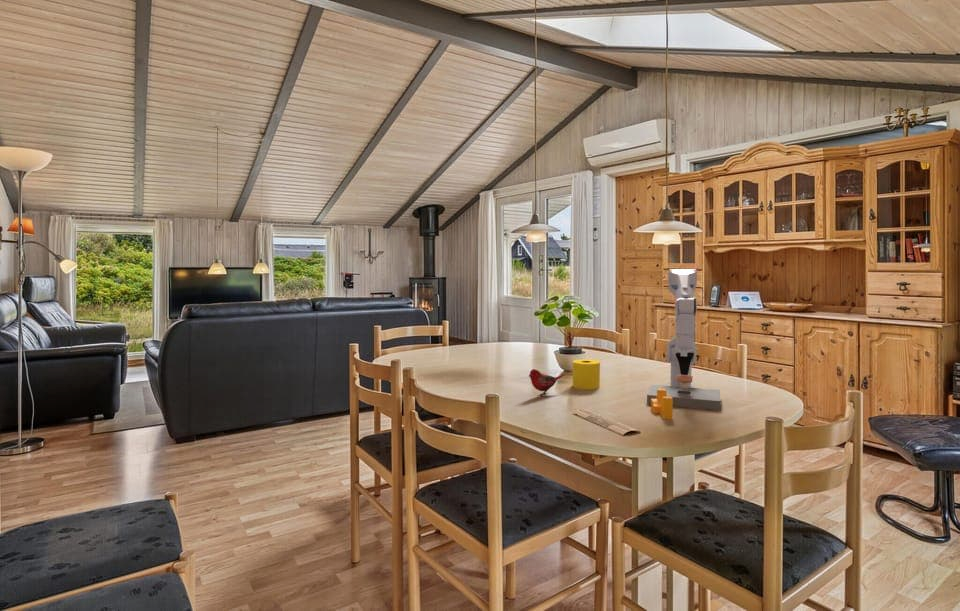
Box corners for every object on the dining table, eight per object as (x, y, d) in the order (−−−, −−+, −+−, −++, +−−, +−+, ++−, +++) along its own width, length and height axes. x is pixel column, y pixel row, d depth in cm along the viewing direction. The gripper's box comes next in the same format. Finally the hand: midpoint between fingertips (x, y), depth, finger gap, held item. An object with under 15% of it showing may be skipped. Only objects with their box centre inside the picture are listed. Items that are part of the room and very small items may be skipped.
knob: (676, 387, 182) (676, 373, 181) (692, 388, 180) (692, 374, 179) (675, 390, 177) (675, 376, 177) (691, 391, 175) (692, 377, 175)
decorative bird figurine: (525, 397, 185) (525, 369, 184) (561, 390, 196) (561, 363, 195) (531, 399, 183) (531, 370, 182) (567, 391, 193) (567, 364, 193)
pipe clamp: (650, 408, 171) (651, 388, 170) (665, 409, 170) (665, 389, 170) (657, 419, 159) (657, 397, 158) (672, 419, 158) (672, 398, 158)
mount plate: (651, 392, 190) (652, 384, 190) (719, 398, 182) (719, 389, 181) (646, 403, 176) (647, 394, 175) (720, 410, 167) (720, 401, 167)
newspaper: (640, 435, 146) (640, 428, 146) (619, 439, 143) (619, 432, 143) (588, 413, 167) (588, 408, 167) (569, 416, 164) (569, 410, 164)
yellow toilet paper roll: (583, 382, 209) (583, 358, 208) (604, 386, 201) (605, 361, 201) (567, 386, 202) (567, 361, 201) (589, 390, 195) (589, 365, 194)
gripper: (697, 337, 169) (696, 379, 170) (698, 331, 182) (697, 371, 183) (674, 336, 171) (673, 378, 172) (676, 331, 185) (675, 369, 186)
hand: (684, 374), depth 178 cm, fingers closed
